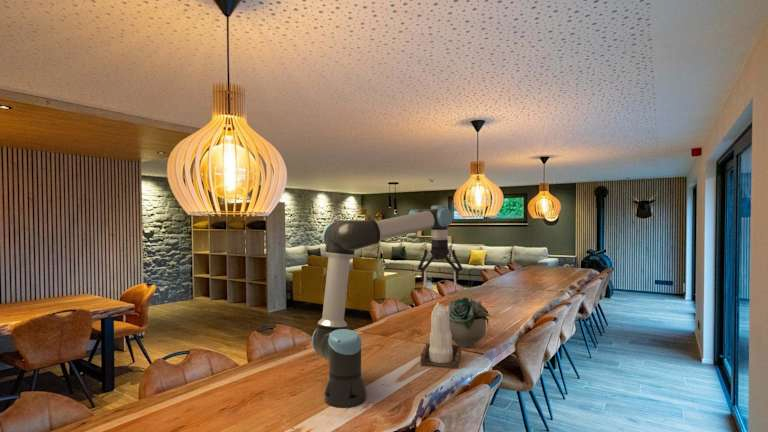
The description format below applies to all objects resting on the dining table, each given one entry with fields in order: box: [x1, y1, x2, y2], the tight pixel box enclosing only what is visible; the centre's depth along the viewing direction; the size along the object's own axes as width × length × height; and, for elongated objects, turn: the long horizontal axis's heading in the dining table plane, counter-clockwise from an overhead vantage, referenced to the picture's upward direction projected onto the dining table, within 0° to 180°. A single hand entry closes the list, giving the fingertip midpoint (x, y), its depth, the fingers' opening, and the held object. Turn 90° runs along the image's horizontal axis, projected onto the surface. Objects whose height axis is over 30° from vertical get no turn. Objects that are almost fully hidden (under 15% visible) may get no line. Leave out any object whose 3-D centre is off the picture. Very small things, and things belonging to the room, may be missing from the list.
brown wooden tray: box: [420, 343, 462, 370], centre depth 186 cm, size 17×16×5 cm
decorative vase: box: [429, 302, 453, 363], centre depth 186 cm, size 11×11×25 cm
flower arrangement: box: [447, 297, 491, 348], centre depth 210 cm, size 25×25×24 cm
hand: (440, 285), depth 186 cm, fingers open, 13 cm apart
